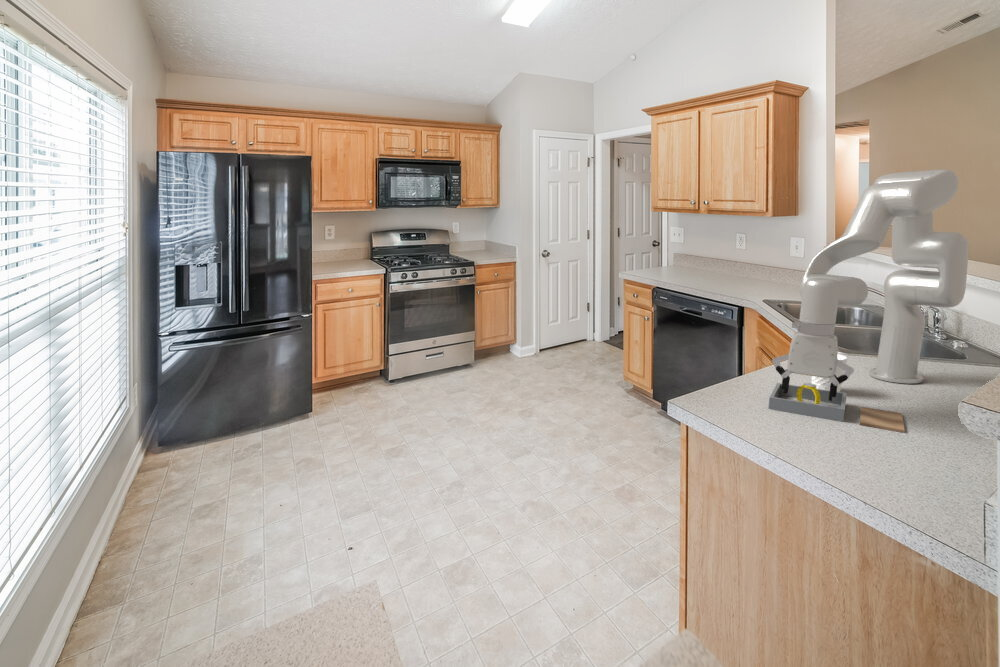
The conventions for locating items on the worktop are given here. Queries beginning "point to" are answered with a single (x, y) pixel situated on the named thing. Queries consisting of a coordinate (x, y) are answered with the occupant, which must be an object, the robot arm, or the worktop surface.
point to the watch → (808, 386)
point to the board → (881, 419)
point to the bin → (805, 407)
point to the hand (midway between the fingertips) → (807, 395)
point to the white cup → (825, 382)
